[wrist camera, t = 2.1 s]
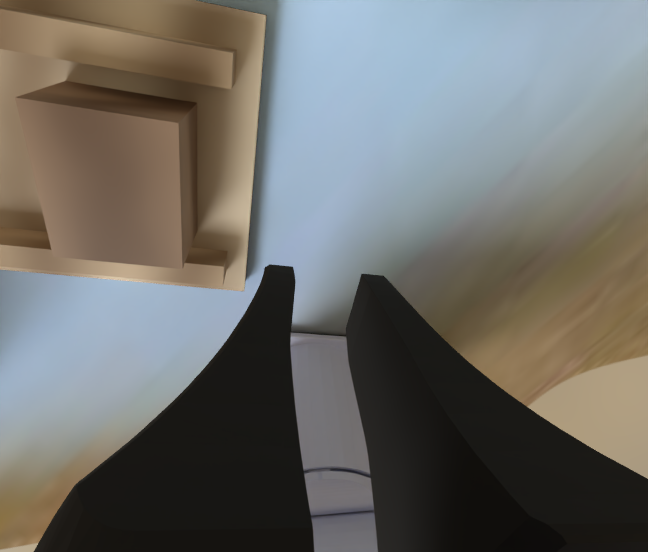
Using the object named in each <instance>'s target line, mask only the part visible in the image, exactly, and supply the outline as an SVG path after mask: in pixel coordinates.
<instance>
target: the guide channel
mask: <svg viewBox="0 0 648 552" xmlns="http://www.w3.org/2000/svg"><path fill="white" fill-rule="evenodd" d="M266 19H267V15H264V14H259V13H254V12H249V11H245V10H240V9H235V8H230V7H225V6H221V5H216V4H211V3H206V2H202V1H197V0H0V269H1V270H12V271H23V272H34V273H45V274H57V275H68V276H79V277H90V278H101V279H112V280H123V281H135V282H146V283H157V284H168V285H179V286H190V287H201V288H213V289H224V290H235V291H244V288H245V281H246V268H247V256H248V243H249V231H250V218H251V206H252V193H253V181H254V168H255V156H256V143H257V131H258V118H259V106H260V93H261V81H262V68H263V56H264V44H265V31H266ZM63 81H69V82H75V83H81V84H87V85H93V86H99V87H105V88H111V89H117V90H123V91H129V92H135V93H141V94H147V95H153V96H159V97H165V98H171V99H177V100H183V101H189V102H195V103H197V215H198V231H197V233H196V236H195V238H194V241H193V244H192V246H191V249H190V251H189V254H188V256H187V259H186V262H185V264H184V267H183V269H175V268H165V267H154V266H144V265H134V264H123V263H113V262H103V261H92V260H82V259H71V258H61V257H53V254H52V250H51V245H50V241H49V237H48V233H47V229H46V225H45V220H44V216H43V212H42V208H41V204H40V200H39V196H38V191H37V187H36V183H35V179H34V175H33V171H32V166H31V162H30V158H29V154H28V150H27V146H26V142H25V137H24V133H23V129H22V125H21V121H20V117H19V113H18V108H17V104H16V100H15V97H18V96H21V95H24V94H27V93H30V92H33V91H36V90H39V89H42V88H45V87H48V86H51V85H54V84H57V83H60V82H63Z"/></svg>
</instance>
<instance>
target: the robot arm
mask: <svg viewBox="0 0 648 552" xmlns="http://www.w3.org/2000/svg"><path fill="white" fill-rule="evenodd" d="M294 292H295V275H294V270H293V267H289V266H279V265H268V266H267V267H265V270H264V275H263V278H262V281H261V283H260V286H259V288H258V290H257V292H256V294H255V296H254V298H253V300H252V302H251V303H250V305H249V307H248V309H247V311H246V312H245V314H244V316H243V317H242V319H241V320H240V322H239V323H238V325H237V326H236V328H235V329H234V331H233V332H232V334H231V335H230V337H229V338H228V339H227V341H226V342H225V343H224V345H223V346H222V347H221V349H220V350H219V351H218V352H217V354H216V355H215V356H214V357H213V359H212V360H211V361H210V362H209V363H208V365H207V366H206V367H205V368H204V369H203V370H202V371H201V373H200V374H199V375H198V376H197V377H196V378H195V379H194V380H193V381H192V382H191V383H190V385H189V386H188V387H187V388H186V389H185V390H184V391H183V392H182V393H181V394H180V395H179V396H178V397H177V398H176V399H175V400H174V401H173V402H172V403H171V404H170V405H169V406H168V407H167V408H165V409H164V410H163V411H162V412H161V413H160V414H159V415H158V416H157V417H156V418H155V419H154V420H152V421H151V422H150V423H149V424H148V425H147V426H146V427H145V428H144V429H143V430H142V431H141V432H139V433H138V434H137V435H136V436H135V437H134V438H133V439H131V440H130V441H129V442H128V443H127V444H125V445H124V446H123V447H122V448H120V449H119V450H118V451H117V452H115V453H114V454H113V455H112V456H110V457H109V458H108V459H107V460H105V461H104V462H103V463H102V464H100V465H99V466H98V467H97V468H96V469H94V470H93V471H92V472H91V473H89V474H88V475H87V476H86V477H84V478H83V479H82V480H81V481H79V482H78V483H77V484H76V485H75V486H74V487H73V489H72V490H71V492H70V493H69V494H68V496H67V498H66V499H65V501H64V502H63V504H62V505H61V507H60V508H59V510H58V511H57V513H56V514H55V516H54V518H53V519H52V521H51V523H50V524H49V526H48V528H47V529H46V531H45V533H44V535H43V536H42V538H41V540H40V542H39V543H38V545H37V547H36V549H35V551H34V552H648V479H647V478H645V477H643V476H641V475H640V474H638V473H636V472H634V471H632V470H630V469H629V468H627V467H625V466H623V465H621V464H619V463H617V462H616V461H614V460H612V459H610V458H608V457H606V456H604V455H603V454H601V453H599V452H597V451H596V450H594V449H592V448H591V447H589V446H587V445H586V444H584V443H582V442H581V441H579V440H577V439H576V438H574V437H572V436H571V435H569V434H568V433H566V432H564V431H562V430H561V429H559V428H558V427H556V426H555V425H553V424H551V423H550V422H549V421H547V420H545V419H544V418H542V417H541V416H539V415H538V414H536V413H535V412H534V411H532V410H531V409H529V408H528V407H526V406H525V405H524V404H522V403H521V402H519V401H518V400H516V399H515V398H514V397H512V396H511V395H509V394H508V393H507V392H505V391H504V390H503V389H501V388H500V387H499V386H497V385H496V384H495V383H494V382H492V381H491V380H490V379H489V378H487V377H486V376H485V375H484V374H482V373H481V372H480V371H479V370H478V369H476V368H475V367H474V366H473V365H471V364H470V363H469V362H468V361H467V360H466V359H465V358H463V357H462V356H461V355H460V354H459V353H458V352H457V351H456V350H455V349H454V348H453V347H451V346H450V345H449V344H448V343H447V342H446V341H445V340H444V339H443V338H442V337H441V336H440V335H439V334H438V333H437V332H436V331H435V330H434V329H433V328H432V327H431V326H430V325H429V324H428V323H427V322H426V321H425V320H424V319H423V318H422V317H421V316H420V315H419V314H418V313H417V311H416V310H415V309H414V308H413V307H412V306H411V305H410V304H409V303H408V302H407V301H406V299H405V298H404V297H403V296H402V295H401V294H400V293H399V292H398V291H397V290H396V288H395V287H394V286H393V285H392V284H391V283H390V282H389V281H388V280H387V279H386V278H385V277H384V276H379V275H369V274H362V275H361V278H360V282H359V285H358V289H357V292H356V296H355V299H354V303H353V306H352V310H351V313H350V317H349V320H348V324H347V327H346V337H343V336H330V335H316V334H303V333H291V325H292V314H293V303H294Z"/></svg>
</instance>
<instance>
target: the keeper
mask: <svg viewBox="0 0 648 552" xmlns="http://www.w3.org/2000/svg"><path fill="white" fill-rule="evenodd" d="M15 100H16V104H17V108H18V113H19V117H20V121H21V125H22V129H23V133H24V137H25V142H26V146H27V150H28V154H29V158H30V162H31V166H32V171H33V175H34V179H35V183H36V187H37V191H38V196H39V200H40V204H41V208H42V212H43V216H44V220H45V225H46V229H47V233H48V237H49V241H50V245H51V250H52V254H53V257H61V258H71V259H82V260H92V261H103V262H113V263H123V264H134V265H144V266H154V267H165V268H175V269H183V267H184V264H185V262H186V259H187V256H188V254H189V251H190V249H191V246H192V244H193V241H194V238H195V236H196V233H197V231H198V215H197V103H195V102H189V101H183V100H177V99H171V98H165V97H159V96H153V95H147V94H141V93H135V92H129V91H123V90H117V89H111V88H105V87H99V86H93V85H87V84H81V83H75V82H69V81H63V82H60V83H57V84H54V85H51V86H48V87H45V88H42V89H39V90H36V91H33V92H30V93H27V94H24V95H21V96H18V97H15Z"/></svg>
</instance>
